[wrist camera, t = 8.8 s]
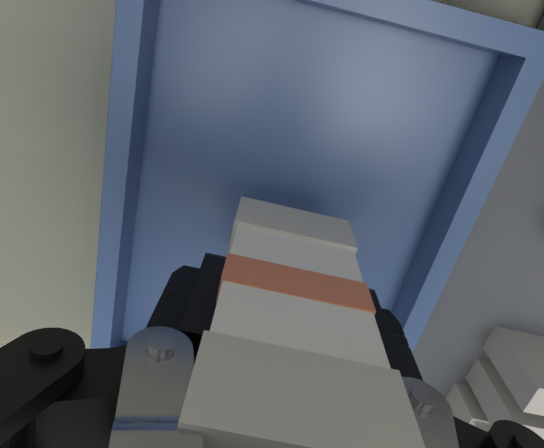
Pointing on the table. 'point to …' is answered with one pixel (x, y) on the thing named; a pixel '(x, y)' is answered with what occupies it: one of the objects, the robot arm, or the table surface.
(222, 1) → the tray
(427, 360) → the fuse holder
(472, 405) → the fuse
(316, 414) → the block
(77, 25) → the table surface
